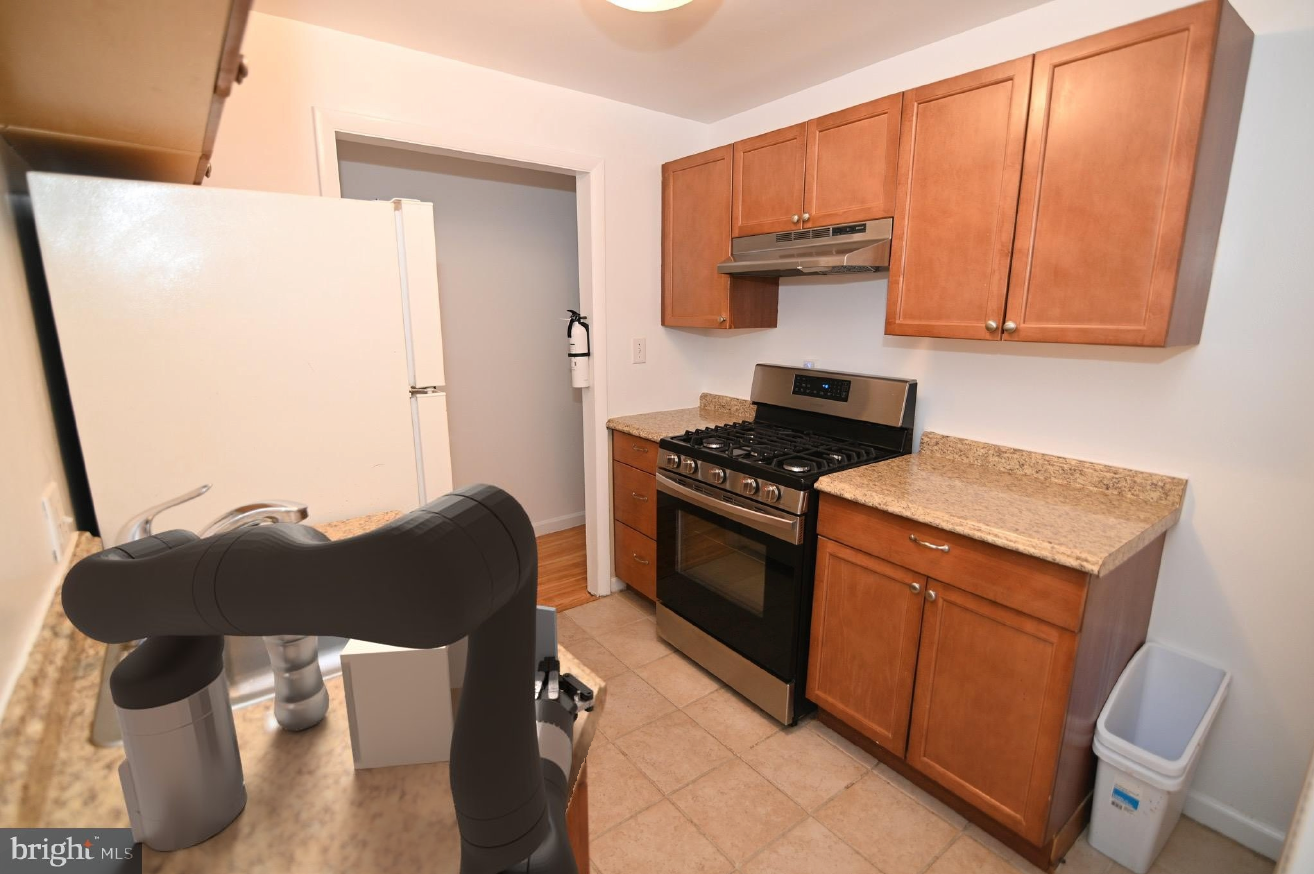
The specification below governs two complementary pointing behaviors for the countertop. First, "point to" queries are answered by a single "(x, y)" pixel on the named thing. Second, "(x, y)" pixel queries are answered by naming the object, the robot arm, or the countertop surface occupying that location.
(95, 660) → the countertop surface
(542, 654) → the flap
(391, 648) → the box
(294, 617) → the robot arm
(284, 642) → the plastic bottle
